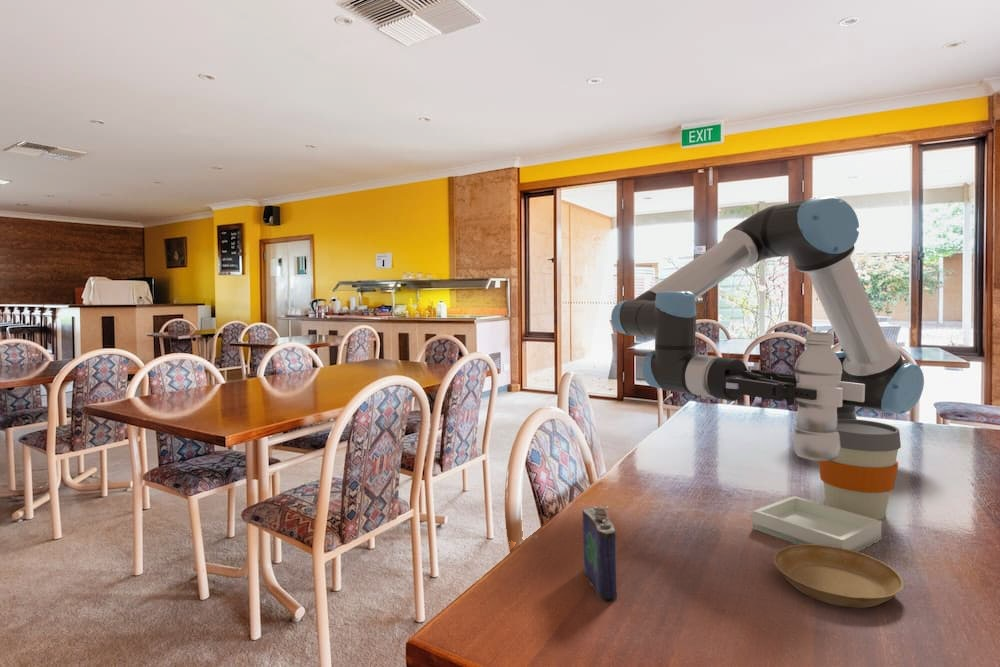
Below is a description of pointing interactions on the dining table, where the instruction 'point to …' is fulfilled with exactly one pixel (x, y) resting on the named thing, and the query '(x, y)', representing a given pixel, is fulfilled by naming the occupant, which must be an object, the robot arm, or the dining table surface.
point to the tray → (816, 524)
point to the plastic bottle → (817, 421)
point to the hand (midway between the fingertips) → (852, 395)
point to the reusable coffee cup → (862, 468)
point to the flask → (599, 553)
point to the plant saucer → (838, 575)
